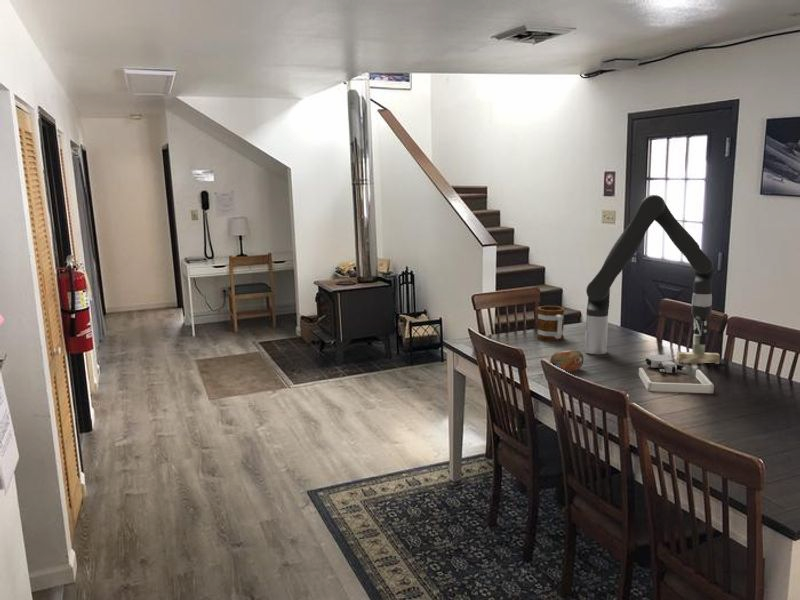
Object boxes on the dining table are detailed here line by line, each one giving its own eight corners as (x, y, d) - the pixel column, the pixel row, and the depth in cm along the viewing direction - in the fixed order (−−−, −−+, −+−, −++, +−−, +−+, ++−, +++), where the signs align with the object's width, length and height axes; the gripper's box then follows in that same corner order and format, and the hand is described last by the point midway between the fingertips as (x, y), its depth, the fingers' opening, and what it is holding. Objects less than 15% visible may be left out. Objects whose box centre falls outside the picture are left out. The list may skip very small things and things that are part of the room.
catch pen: (648, 390, 235) (648, 383, 235) (638, 375, 254) (639, 367, 253) (713, 393, 231) (713, 385, 230) (699, 377, 250) (699, 369, 249)
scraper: (678, 363, 269) (680, 335, 267) (676, 361, 272) (678, 333, 270) (719, 364, 266) (721, 336, 264) (716, 362, 269) (718, 334, 267)
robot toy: (688, 376, 254) (666, 362, 269) (689, 365, 253) (667, 352, 268) (659, 378, 252) (639, 365, 267) (660, 367, 251) (640, 354, 266)
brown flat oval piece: (553, 374, 257) (553, 354, 256) (548, 372, 260) (548, 352, 259) (583, 369, 263) (584, 349, 261) (578, 367, 266) (579, 347, 264)
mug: (532, 335, 320) (533, 306, 317) (558, 334, 322) (559, 304, 319) (546, 345, 301) (546, 314, 298) (573, 343, 303) (574, 313, 300)
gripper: (687, 300, 272) (685, 337, 275) (696, 307, 258) (694, 346, 261) (706, 300, 270) (704, 337, 273) (716, 307, 257) (714, 346, 260)
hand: (699, 341), depth 267 cm, fingers open, 8 cm apart
